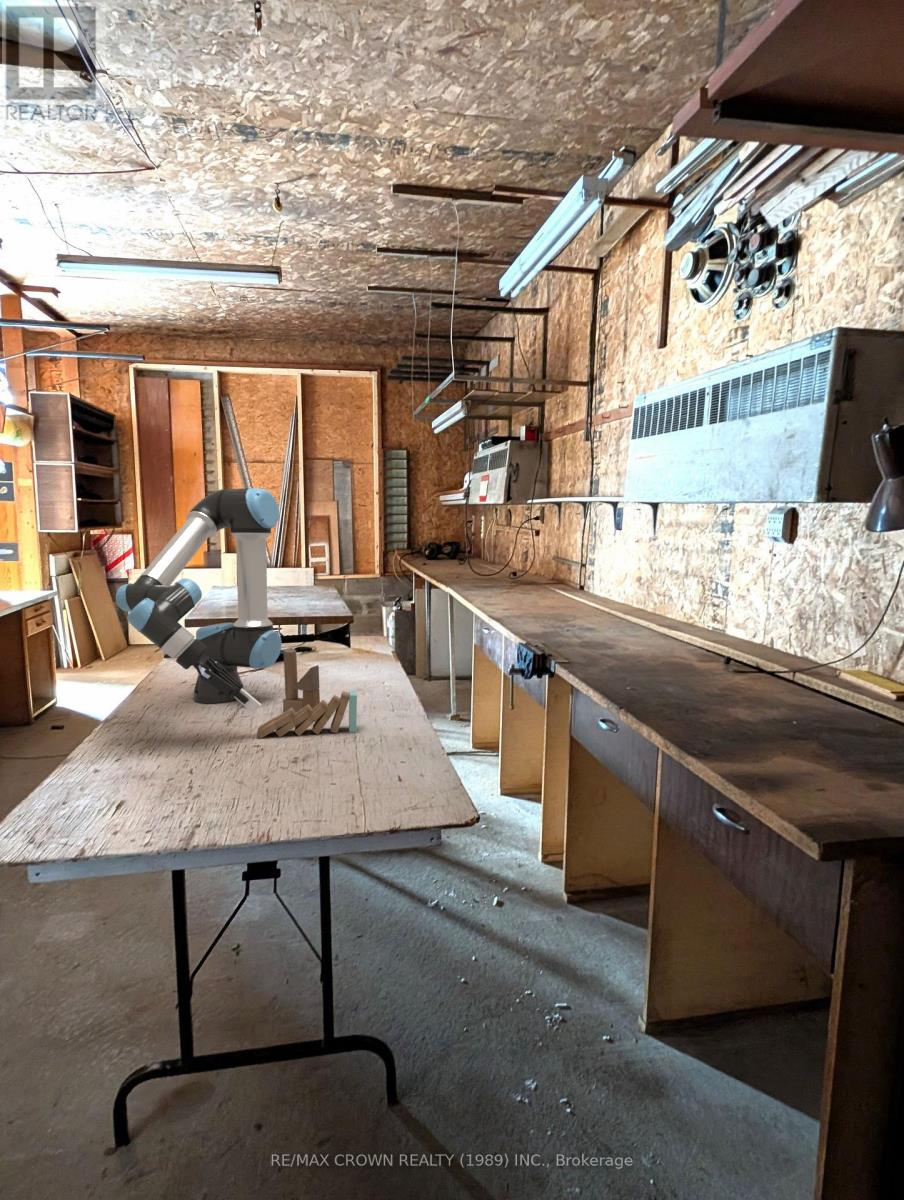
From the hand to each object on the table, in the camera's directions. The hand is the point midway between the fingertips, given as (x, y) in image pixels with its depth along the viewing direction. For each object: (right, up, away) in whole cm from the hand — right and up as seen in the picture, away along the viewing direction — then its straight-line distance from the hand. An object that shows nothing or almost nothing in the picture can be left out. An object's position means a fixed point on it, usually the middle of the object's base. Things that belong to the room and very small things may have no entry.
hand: (257, 708), depth 169 cm
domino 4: (+14, -6, +3) cm, 16 cm away
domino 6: (+24, -6, +5) cm, 25 cm away
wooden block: (+7, -5, +21) cm, 22 cm away
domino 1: (0, -6, +1) cm, 6 cm away
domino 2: (+5, -6, +2) cm, 8 cm away
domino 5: (+19, -6, +4) cm, 20 cm away
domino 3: (+10, -6, +3) cm, 12 cm away
